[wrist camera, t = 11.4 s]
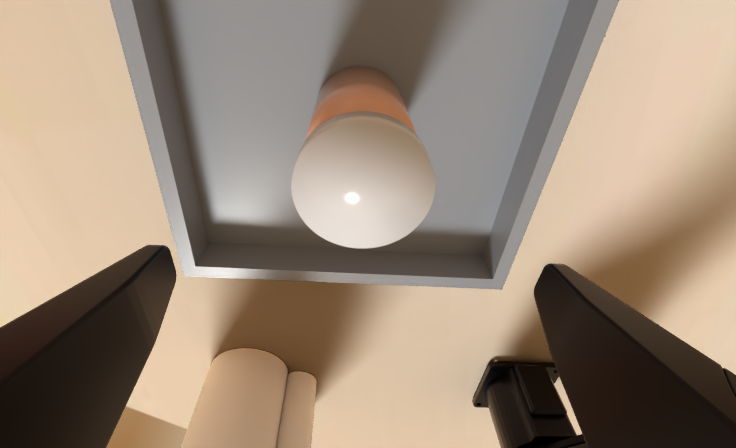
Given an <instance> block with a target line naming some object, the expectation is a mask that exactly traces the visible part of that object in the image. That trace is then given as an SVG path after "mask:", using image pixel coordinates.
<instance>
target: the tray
mask: <svg viewBox="0 0 736 448" xmlns="http://www.w3.org/2000/svg"><path fill="white" fill-rule="evenodd" d="M618 2H619V0H110V3H111V7H112V11H113V14H114V18H115V22H116V25H117V29H118V33H119V37H120V40H121V44H122V48H123V52H124V55H125V59H126V63H127V67H128V70H129V74H130V78H131V81H132V85H133V89H134V93H135V96H136V100H137V104H138V108H139V111H140V115H141V119H142V122H143V126H144V130H145V134H146V137H147V141H148V145H149V149H150V152H151V156H152V160H153V164H154V167H155V171H156V175H157V178H158V182H159V186H160V190H161V193H162V197H163V201H164V205H165V208H166V212H167V216H168V220H169V223H170V227H171V231H172V234H173V238H174V242H175V246H176V249H177V253H178V257H179V261H180V264H181V268H182V272H183V276H190V277H214V278H238V279H262V280H287V281H311V282H335V283H359V284H383V285H408V286H432V287H456V288H480V289H502V288H503V286H504V283H505V281H506V278H507V276H508V273H509V271H510V268H511V266H512V263H513V261H514V258H515V256H516V254H517V251H518V249H519V246H520V244H521V241H522V239H523V236H524V234H525V231H526V229H527V226H528V224H529V221H530V219H531V216H532V214H533V212H534V209H535V207H536V204H537V202H538V199H539V197H540V194H541V192H542V189H543V187H544V184H545V182H546V179H547V177H548V174H549V172H550V170H551V167H552V165H553V162H554V160H555V157H556V155H557V152H558V150H559V147H560V145H561V142H562V140H563V137H564V135H565V133H566V130H567V128H568V125H569V123H570V120H571V118H572V115H573V113H574V110H575V108H576V105H577V103H578V100H579V98H580V95H581V93H582V91H583V88H584V86H585V83H586V81H587V78H588V76H589V73H590V71H591V68H592V66H593V63H594V61H595V58H596V56H597V53H598V51H599V49H600V46H601V44H602V41H603V39H604V36H605V34H606V31H607V29H608V26H609V24H610V21H611V19H612V16H613V14H614V12H615V9H616V7H617V4H618ZM351 66H368V67H372V68H375V69H378V70H380V71H382V72H383V73H385V74H386V75H388V76H389V77H390V78H391V79H392V80H393V81H394V82H395V84H396V85H397V87H398V89H399V91H400V93H401V95H402V98H403V100H404V103H405V106H406V108H407V111H408V113H409V116H410V119H411V121H412V124H413V126H414V129H415V132H416V134H417V136H418V137H419V139H420V140H421V142H422V143H423V145H424V147H425V149H426V152H427V154H428V157H429V159H430V162H431V164H432V167H433V170H434V175H435V194H434V199H433V202H432V205H431V207H430V210H429V212H428V213H427V215H426V217H425V218H424V219H423V221H422V222H421V223H420V224H419V225H418V226H417V227H416V228H415V229H414V230H413V231H412V232H411V233H409V234H408V235H407V236H405V237H403V238H401V239H400V240H398V241H395V242H393V243H391V244H388V245H385V246H380V247H376V248H360V249H359V248H349V247H345V246H341V245H337V244H334V243H332V242H330V241H327V240H325V239H324V238H322V237H320V236H319V235H317V234H316V233H315V232H313V231H312V230H311V229H310V228H309V227H308V226H307V225H306V224H305V222H304V221H303V220H302V219H301V217H300V215H299V214H298V212H297V210H296V207H295V205H294V202H293V198H292V191H291V180H292V175H293V170H294V167H295V163H296V160H297V157H298V154H299V151H300V149H301V147H302V145H303V143H304V142H305V140H306V136H307V133H308V129H309V126H310V122H311V118H312V115H313V111H314V108H315V104H316V101H317V97H318V94H319V92H320V90H321V88H322V86H323V85H324V83H325V82H326V81H327V80H328V79H329V78H330V77H331V76H332V75H333V74H335V73H336V72H338V71H340V70H342V69H344V68H347V67H351Z"/></svg>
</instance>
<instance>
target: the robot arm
mask: <svg viewBox="0 0 736 448" xmlns="http://www.w3.org/2000/svg"><path fill="white" fill-rule="evenodd" d="M175 282H176V270H175V267H174V263H173V260H172V256H171V253H170V250H169V248H168V247H167V246H164V245H147V246H145V247H143V248H141V249H139V250H138V251H136V252H134V253H132V254H130V255H129V256H127V257H125V258H123V259H122V260H120V261H118V262H116V263H114V264H113V265H111V266H109V267H107V268H105V269H104V270H102V271H100V272H98V273H97V274H95V275H93V276H91V277H89V278H88V279H86V280H84V281H82V282H81V283H79V284H77V285H75V286H73V287H72V288H70V289H68V290H66V291H65V292H63V293H61V294H59V295H57V296H56V297H54V298H52V299H50V300H48V301H47V302H45V303H43V304H41V305H40V306H38V307H36V308H34V309H32V310H31V311H29V312H27V313H25V314H24V315H22V316H20V317H18V318H16V319H15V320H13V321H11V322H9V323H7V324H6V325H4V326H2V327H0V448H106V447H107V445H108V443H109V440H110V438H111V436H112V434H113V432H114V430H115V428H116V425H117V423H118V421H119V419H120V417H121V415H122V412H123V410H124V408H125V406H126V404H127V402H128V400H129V398H130V396H131V393H132V391H133V389H134V387H135V385H136V383H137V381H138V378H139V376H140V374H141V372H142V370H143V368H144V366H145V363H146V361H147V359H148V357H149V355H150V353H151V351H152V348H153V346H154V344H155V341H156V339H157V336H158V333H159V330H160V327H161V324H162V321H163V318H164V315H165V312H166V309H167V306H168V303H169V300H170V297H171V294H172V291H173V288H174V285H175ZM534 297H535V301H536V305H537V308H538V312H539V315H540V319H541V323H542V326H543V330H544V333H545V337H546V340H547V344H548V347H549V350H550V353H551V356H552V358H553V361H554V364H552V363H514V362H492V363H490V364H489V365H488V367H487V369H486V371H485V374H484V376H483V378H482V380H481V382H480V385H479V387H478V389H477V391H476V394H475V396H474V398H473V401H472V402H473V405H474V406H475V407H489V410H490V413H491V417H492V420H493V423H494V426H495V430H496V433H497V436H498V440H499V443H500V446H501V448H736V375H735V374H733V373H732V372H730V371H729V370H727V369H725V368H722V367H721V365H719V364H718V363H716V362H715V361H713V360H712V359H710V358H709V357H707V356H706V355H704V354H702V353H701V352H699V351H698V350H696V349H695V348H693V347H692V346H690V345H689V344H687V343H685V342H684V341H682V340H681V339H679V338H678V337H676V336H675V335H673V334H672V333H670V332H668V331H667V330H665V329H664V328H662V327H661V326H659V325H658V324H656V323H655V322H653V321H651V320H650V319H648V318H647V317H645V316H644V315H642V314H641V313H639V312H638V311H636V310H634V309H633V308H631V307H630V306H628V305H627V304H625V303H624V302H622V301H621V300H619V299H617V298H616V297H614V296H613V295H611V294H610V293H608V292H607V291H605V290H604V289H602V288H600V287H599V286H597V285H596V284H594V283H593V282H591V281H590V280H588V279H587V278H585V277H584V276H582V275H580V274H579V273H577V272H576V271H574V270H573V269H571V268H570V267H568V266H566V265H564V264H547V265H546V266H545V267H544V269H543V271H542V273H541V275H540V277H539V279H538V281H537V283H536V285H535V288H534ZM559 376H560V379H561V381H562V384H563V386H564V389H565V391H566V394H567V396H568V399H569V401H570V404H571V406H572V409H573V411H574V414H575V416H576V419H577V421H578V424H579V426H580V429H581V431H582V434H581V435H577V434H576V432H575V430H574V428H573V426H572V424H571V422H570V420H569V418H568V415H567V410H566V408H565V406H564V404H563V402H562V400H561V398H560V396H559V394H558V392H557V390H556V388H555V385H554V383H555V382H556V380H557V378H558V377H559Z"/></svg>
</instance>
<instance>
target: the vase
mask: <svg viewBox="0 0 736 448" xmlns="http://www.w3.org/2000/svg"><path fill="white" fill-rule="evenodd" d="M316 385H317V380H316V378H315V377H314V376H313V375H311V374H309V373H306V372H301V371H296V372H291V373H289V374H288V370H287V367H286V365H285V363H284V362H283V361H282V360H280V359H279V358H278V357H277V356H275V355H273V354H271V353H269V352H266V351H262V350H258V349H252V348H239V349H232V350H228V351H226V352H223V353H221V354H219V355H218V356H217V357H216V358H215V359H213V361H212V364H211V366H210V369H209V371H208V374H207V377H206V380H205V382H204V385H203V388H202V391H201V393H200V396H199V399H198V402H197V404H196V407H195V410H194V413H193V415H192V418H191V421H190V424H189V426H188V429H187V432H186V435H185V438H184V440H183V443H182V446H181V448H311V440H312V429H313V418H314V407H315V396H316Z"/></svg>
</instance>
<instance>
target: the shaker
mask: <svg viewBox="0 0 736 448" xmlns="http://www.w3.org/2000/svg"><path fill="white" fill-rule="evenodd" d="M291 191H292V198H293V202H294V205H295V207H296V210H297V212H298V214H299V215H300V217H301V219H302V220H303V221H304V222H305V224H306V225H307V226H308V227H309V228H310V229H311V230H312V231H313V232H315V233H316V234H317V235H319V236H320V237H322V238H324V239H325V240H327V241H330V242H332V243H334V244H337V245H341V246H345V247H349V248H359V249H360V248H376V247H380V246H385V245H388V244H391V243H393V242H395V241H398V240H400V239H401V238H403V237H405V236H407V235H408V234H409V233H411V232H412V231H413V230H414V229H415V228H416V227H417V226H418V225H419V224H420V223H421V222H422V221H423V219H424V218H425V217H426V215H427V213H428V212H429V210H430V207H431V205H432V202H433V199H434V194H435V175H434V170H433V167H432V164H431V162H430V159H429V157H428V154H427V152H426V149H425V147H424V145H423V143H422V142H421V140H420V139H419V137H418V136H417V134H416V132H415V129H414V126H413V124H412V121H411V119H410V116H409V113H408V111H407V108H406V106H405V103H404V100H403V98H402V95H401V93H400V91H399V89H398V87H397V85H396V84H395V82H394V81H393V80H392V79H391V78H390V77H389V76H388V75H386V74H385V73H383V72H382V71H380V70H378V69H375V68H372V67H368V66H351V67H347V68H344V69H342V70H340V71H338V72H336V73H335V74H333V75H332V76H331V77H330V78H329V79H328V80H327V81H326V82H325V83H324V85H323V86H322V88H321V90H320V92H319V94H318V97H317V101H316V104H315V108H314V111H313V115H312V118H311V122H310V126H309V129H308V133H307V136H306V140H305V142H304V143H303V145H302V147H301V149H300V151H299V154H298V157H297V160H296V163H295V167H294V170H293V175H292V180H291Z"/></svg>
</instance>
